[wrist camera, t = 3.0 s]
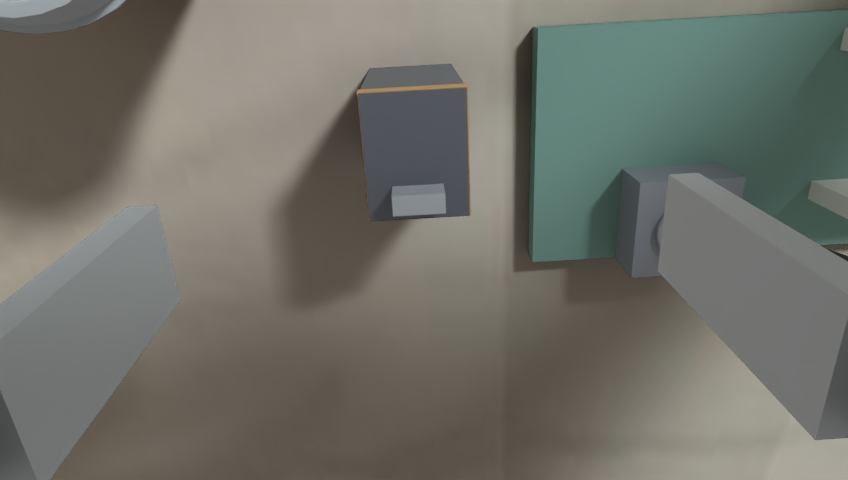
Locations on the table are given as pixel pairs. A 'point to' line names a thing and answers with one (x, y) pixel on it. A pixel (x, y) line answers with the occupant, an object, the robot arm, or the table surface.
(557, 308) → the table surface
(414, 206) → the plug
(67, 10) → the disposable coffee cup
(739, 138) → the board
